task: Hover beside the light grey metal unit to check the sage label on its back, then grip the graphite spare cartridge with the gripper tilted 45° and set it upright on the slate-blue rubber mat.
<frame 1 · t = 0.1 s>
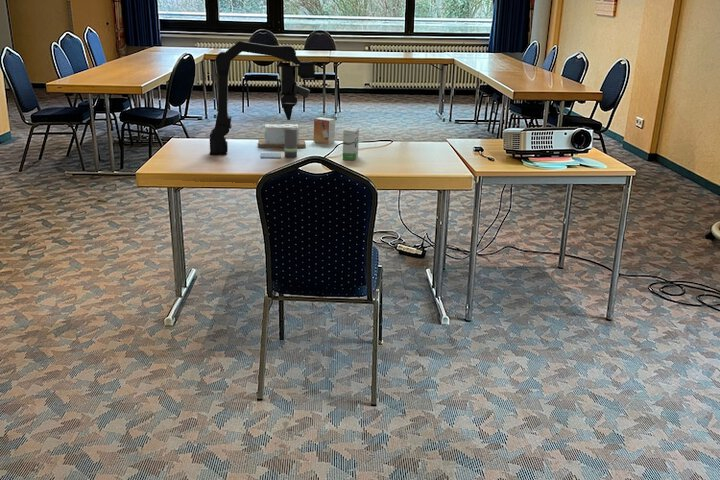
hand: (288, 118, 279), 15 cm above the table, tool pointing down, fingers open, 9 cm apart
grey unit: (281, 145, 299), on the table
small box: (324, 142, 309), on the table
ink box: (350, 158, 280), on the table
spare cartridge: (290, 156, 279), on the table
slate mat: (270, 156, 278), on the table
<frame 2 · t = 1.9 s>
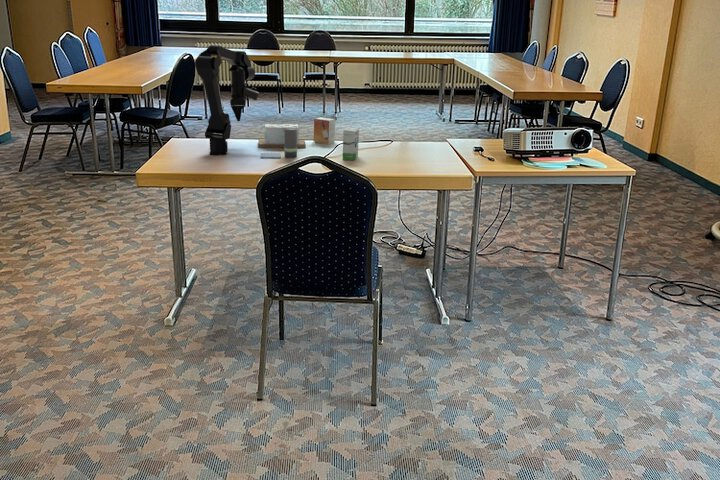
hand: (239, 119, 293), 11 cm above the table, tool pointing down, fingers open, 9 cm apart
nothing on the table moved.
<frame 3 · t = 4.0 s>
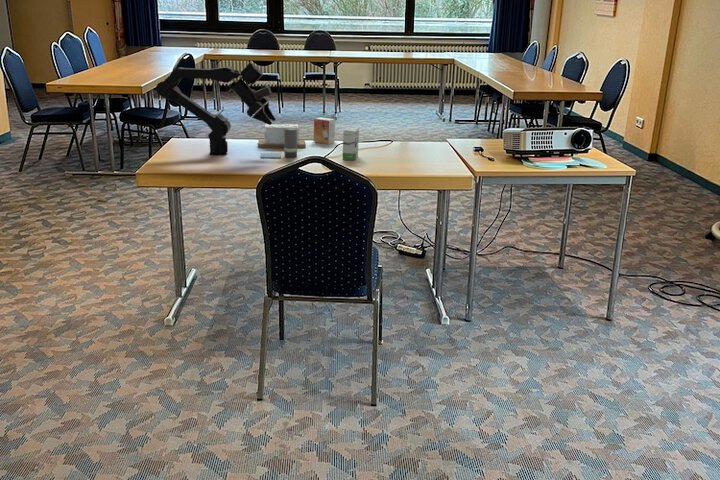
hand: (273, 122, 275), 13 cm above the table, tool tilted 45°, fingers open, 9 cm apart
nothing on the table moved.
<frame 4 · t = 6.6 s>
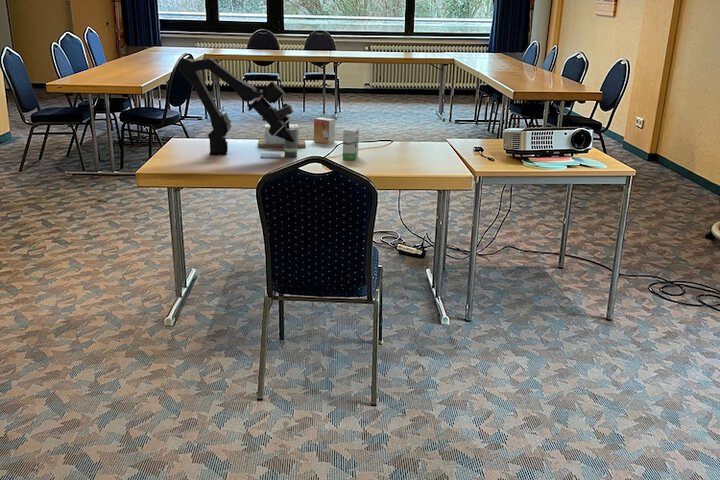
hand: (294, 140, 277), 7 cm above the table, tool tilted 45°, fingers closed on spare cartridge, 5 cm apart
spare cartridge: (290, 156, 279), on the table, touching gripper
everything else where it was.
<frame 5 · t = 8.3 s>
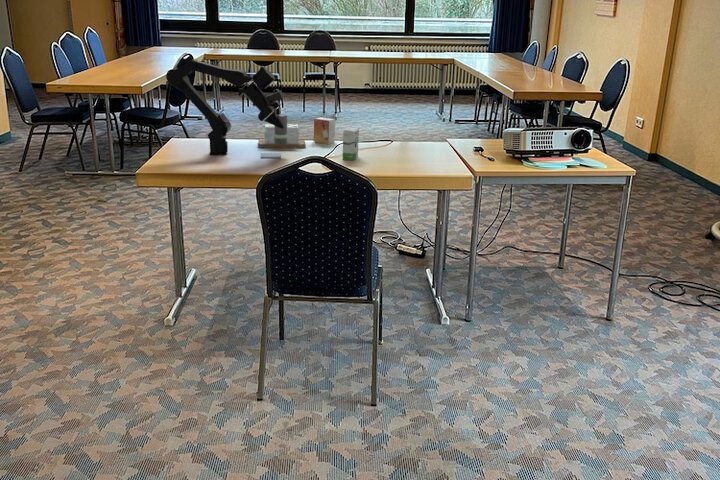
hand: (284, 126, 274), 12 cm above the table, tool tilted 45°, fingers closed on spare cartridge, 5 cm apart
spare cartridge: (280, 143, 277), point 5 cm above the table, touching gripper
everything else where it was.
when the fingers open (8 cm above the table, at t = 10.0 s): spare cartridge drops 1 cm, resting on slate mat.
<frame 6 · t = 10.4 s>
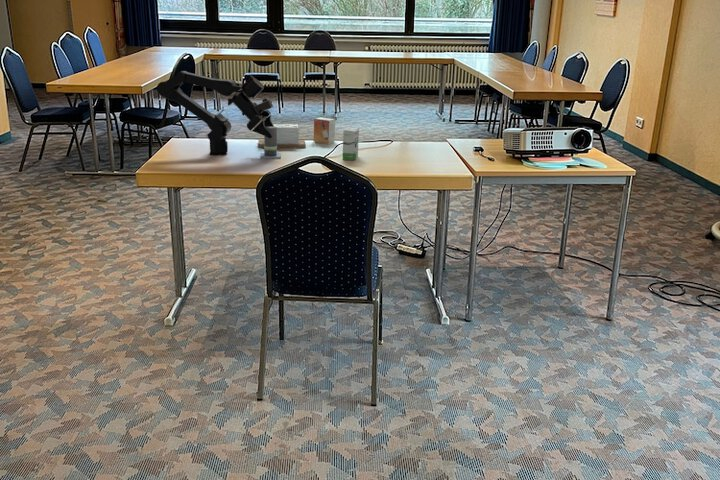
hand: (273, 135, 275), 9 cm above the table, tool tilted 45°, fingers open, 9 cm apart
spare cartridge: (270, 154, 278), point 1 cm above the table, touching slate mat
everything else where it was.
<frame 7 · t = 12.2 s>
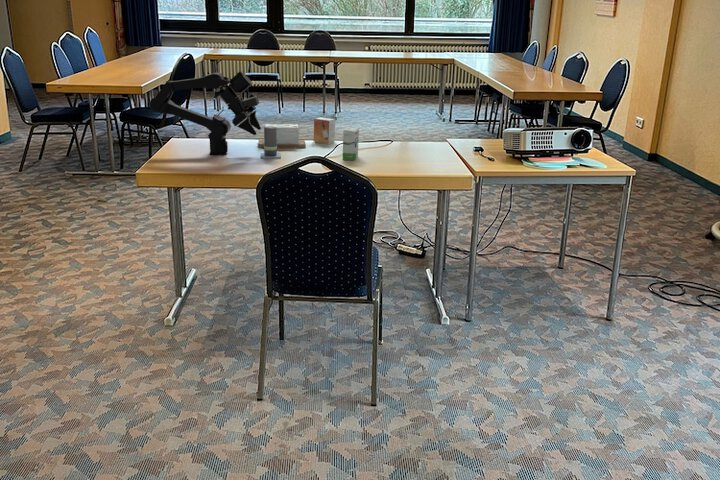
hand: (258, 131, 277), 9 cm above the table, tool tilted 40°, fingers open, 9 cm apart
nothing on the table moved.
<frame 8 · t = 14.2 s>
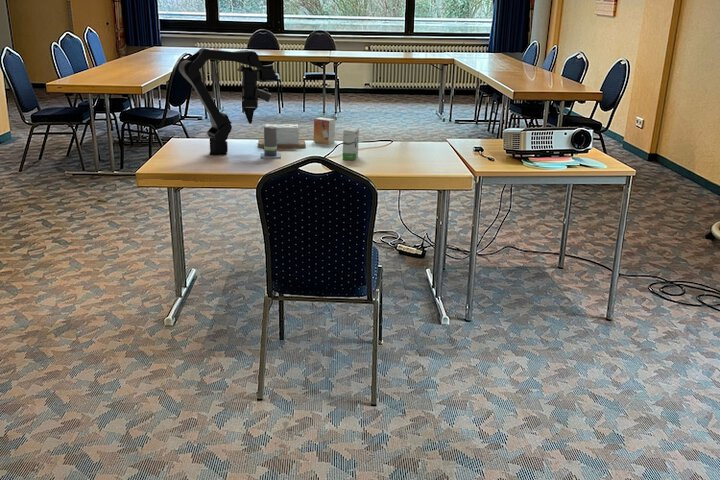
hand: (250, 121, 283), 12 cm above the table, tool pointing down, fingers open, 9 cm apart
nothing on the table moved.
at the end: spare cartridge 0.1 cm off-centre on the slate mat, point 0.6 cm above the slate mat's base; spare cartridge tilted 0°; the gripper is holding nothing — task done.
